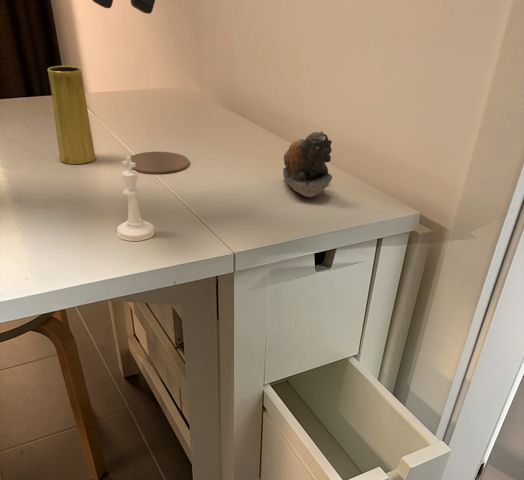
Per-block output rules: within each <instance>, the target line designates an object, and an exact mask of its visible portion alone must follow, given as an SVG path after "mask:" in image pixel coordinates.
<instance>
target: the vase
mask: <svg viewBox="0 0 524 480" xmlns="http://www.w3.org/2000/svg"><path fill="white" fill-rule="evenodd" d="M47 73H48V74H47V75H48V81H49V86H50V92H51V101H52V109H53V117H54V122H55V132H56V140H57V147H58V152H59V155H58V156H59V160H60V162H62V163H64V164H68V165H83V164H84V165H85V164H88V163H92V162H94V161H95V160H96V159H97V155H96V152H95V147H94V141H93V134H92V129H91V124H90V122H91V121H90V117H89V112H88V111H89V110H88V104H87V99H86V93H85V86H84V79H83V72H82V69H81V67H79V66H76V65H75V66H74V65H55V66H50V67H48V68H47Z"/></svg>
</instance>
